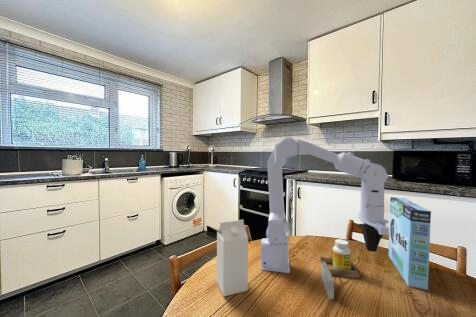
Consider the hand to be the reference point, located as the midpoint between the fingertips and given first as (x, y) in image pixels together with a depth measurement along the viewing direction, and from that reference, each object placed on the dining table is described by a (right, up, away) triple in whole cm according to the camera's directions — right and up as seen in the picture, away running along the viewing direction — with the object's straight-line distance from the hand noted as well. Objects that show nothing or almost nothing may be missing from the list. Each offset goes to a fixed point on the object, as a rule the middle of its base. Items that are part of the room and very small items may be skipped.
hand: (371, 250), depth 59 cm
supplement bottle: (-5, -11, +8) cm, 14 cm away
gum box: (+17, -11, +8) cm, 21 cm away
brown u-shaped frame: (-5, -10, +8) cm, 14 cm away
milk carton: (-41, -10, -1) cm, 42 cm away
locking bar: (-14, -10, -1) cm, 17 cm away
